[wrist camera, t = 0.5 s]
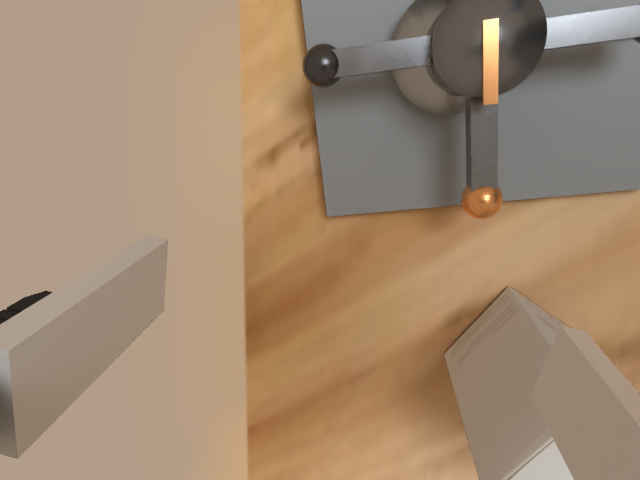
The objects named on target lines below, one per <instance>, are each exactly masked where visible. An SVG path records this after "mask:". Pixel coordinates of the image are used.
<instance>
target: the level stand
mask: <svg viewBox="0 0 640 480" xmlns="http://www.w3.org/2000/svg"><path fill="white" fill-rule="evenodd" d="M414 1H416V0H301V5H302V13H303V21H304V29H305V38H306V46H307V52H308V50H309V49H310V48H311V47H313V46H315V45H317V44H321V43H326V44H330V45H332V46H334V47H336V48H337V49H338V48H345V47H352V46H359V45H366V44H373V43H380V42H387V41H392V38H393V35H394V32H395V29H396V27H397V25H398V23H399V21H400V19H401V17H402V16H403V14H404V13H405V11H406V10H407V9H408V8H409V7H410V5H411V4H412V3H413V2H414ZM539 1H540V2H541V4H542V7H543V9H544V12H545V15H546V18H552V17H559V16H566V15H573V14H580V13H586V12H593V11H600V10H607V9H614V8H621V7H628V6H635V5H638V4H639V3H640V0H539ZM311 87H312V96H313V104H314V112H315V120H316V129H317V137H318V145H319V154H320V162H321V170H322V178H323V187H324V195H325V203H326V212H327V217H330V216H342V215H353V214H365V213H376V212H387V211H399V210H410V209H421V208H433V207H444V206H456V205H462V204H461V195H462V192H463V190H464V189H465V187H466V130H465V111H463V112H459V113H454V114H438V113H433V112H429V111H426V110H423V109H421V108H419V107H417V106H415V105H414V104H412V103H411V102H410V101H409V100H408V99H407V98H406V97H404V95H403V94H402V93H401V92H400V90H399V89H398V87H397V85H396V83H395V81H394V78H393V75H392V71H388V72H381V73H374V74H366V75H359V76H351V77H344V78H340V80H339V81H338V82H337V83H336V84H334V85H333V86H331V87H327V88H319V87H316V86H314V85H312V84H311ZM498 187H499V188H500V190H501V192H502V195H503V201H513V200H524V199H535V198H547V197H558V196H569V195H581V194H592V193H604V192H615V191H626V190H638V189H640V43H638V42H636V41H635V40H633V39H626V40H618V41H611V42H603V43H596V44H588V45H581V46H574V47H566V48H559V49H551V50H544V51H543V54H542V56H541V58H540V60H539V63H538V64H537V66H536V67H535V69H534V70H533V71H532V73H531V74H530V75H529V76H528V77H527V78H526V79H525V80H524V81H523V82H522V83H521V84H519V85H518V86H517V87H515V88H513V89H512V90H510V91H508V92H505V93H503V94H500V95H498Z"/></svg>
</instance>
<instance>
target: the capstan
mask: <svg viewBox="0 0 640 480" xmlns="http://www.w3.org/2000/svg"><path fill="white" fill-rule="evenodd" d="M626 39H633V40H635V41H636V42H638V43H640V3H639V4H638V5H635V6H628V7H621V8H614V9H607V10H600V11H593V12H586V13H580V14H573V15H566V16H559V17H552V18H546V15H545V12H544V9H543V7H542V4H541V2H540V1H539V0H416V1H414V2H413V3H412V4H411V5H410V7H409V8H408V9H407V10H406V11H405V13H404V14H403V16H402V17H401V19H400V21H399V23H398V25H397V27H396V29H395V32H394V35H393V38H392V41H387V42H380V43H373V44H366V45H359V46H352V47H345V48H338V49H337V48H336V47H334V46H332V45H330V44H326V43H321V44H317V45H315V46H313V47H311V48H310V49H309V50H308V52H307V53H306V55H305V57H304V60H303V72H304V75H305V77H306V78H307V80H308V81H309V82H310V83H311V84H312V85H314V86H316V87H319V88H327V87H331V86H333V85H334V84H336V83H337V82H338V81H339V80H340V78H344V77H351V76H359V75H366V74H374V73H381V72H388V71H392V75H393V78H394V81H395V83H396V85H397V87H398V89H399V90H400V92H401V93H402V94H403V95H404V97H406V98H407V99H408V100H409V101H410V102H411V103H412V104H414V105H415V106H417V107H419V108H421V109H423V110H426V111H429V112H433V113H438V114H454V113H459V112H463V111H465V130H466V187H465V189H464V190H463V192H462V195H461V204H462V207H463V209H464V210H465V212H466V213H467V214H469V215H470V216H472V217H474V218H479V219H483V218H488V217H491V216H493V215H494V214H495V213H497V212H498V210H499V209H500V207H501V205H502V201H503V195H502V192H501V190H500V188H499V187H498V95H500V94H503V93H505V92H508V91H510V90H512V89H513V88H515V87H517V86H518V85H519V84H521V83H522V82H523V81H524V80H525V79H526V78H527V77H528V76H529V75H530V74H531V73H532V71H533V70H534V69H535V67H536V66H537V64H538V63H539V60H540V58H541V56H542V54H543V51H544V50H551V49H559V48H566V47H574V46H581V45H588V44H596V43H603V42H611V41H618V40H626Z"/></svg>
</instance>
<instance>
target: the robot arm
mask: <svg viewBox="0 0 640 480" xmlns="http://www.w3.org/2000/svg"><path fill="white" fill-rule="evenodd" d="M167 245H168V240H166V239H162V238H157V237H153V236H148V235H146V236H144V237H142V238H141V239H139V240H137V241H136V242H134V243H133V244H131V245H129V246H128V247H126V248H124V249H123V250H121V251H119V252H118V253H116V254H115V255H113V256H111V257H110V258H108V259H106V260H105V261H103V262H101V263H100V264H98V265H97V266H95V267H93V268H92V269H90V270H89V271H87V272H85V273H84V274H82V275H80V276H79V277H77V278H75V279H74V280H72V281H70V282H69V283H67V284H66V285H64V286H62V287H61V288H59V289H57V290H56V291H54V292H48V291H44V292H41V293H38V294H34V295H31V296H28V297H25V298H23V299H21V300H19V301H18V302H16V303H14V304H12V305H11V306H9V307H7V309H6V310H2V311H0V454H2V455H6V456H9V457H13V458H19V457H20V456H21V455H22V454H23V453H24V452H25V451H26V450H27V449H28V448H29V447H30V446H31V445H32V444H33V443H34V442H35V441H36V439H37V438H39V436H41V435H42V433H43V432H44V431H45V430H46V429H47V428H48V427H49V426H50V425H51V424H52V423H53V422H54V421H55V420H56V419H57V418H58V417H59V416H60V415H61V414H62V413H63V412H64V411H65V410H66V409H67V408H68V407H69V406H70V405H71V404H72V403H73V402H74V401H75V400H76V399H77V398H78V397H79V396H80V395H81V394H82V393H83V392H84V391H85V390H86V389H87V388H88V387H89V386H90V385H91V383H93V382H94V381H95V380H96V379H97V378H98V377H99V376H100V375H101V373H103V372H104V371H105V369H107V368H108V366H110V364H112V363H113V361H114V360H115V359H116V358H117V357H118V356H119V355H120V354H121V353H122V352H123V351H124V350H125V349H126V348H127V347H128V346H129V345H130V344H131V343H132V342H133V341H134V340H135V339H136V338H137V337H138V336H139V335H140V334H141V333H142V332H143V331H144V330H145V329H146V328H147V327H148V326H149V325H150V324H151V323H152V322H153V321H154V320H155V319H156V318H157V317H158V316H159V315H160V314H161V313H162V312H163V311H164V295H165V279H166V278H165V277H166V262H167ZM531 396H532V398H533V400H534V402H535V404H536V406H537V408H538V410H539V412H540V414H541V416H542V418H543V420H544V422H545V424H546V426H547V428H548V430H549V432H550V433H551V435H552V437H553V439H554V441H555V443H556V445H557V447H558V449H559V451H560V453H561V455H562V457H563V459H564V461H565V463H566V465H567V467H568V469H569V471H570V473H571V475H572V477H573V479H574V480H640V394H639V392H638V391H637V390H636V389H635V388H634V387H633V386H632V384H631V383H630V382H629V381H628V380H627V379H626V377H625V376H624V375H623V374H622V373H621V372H620V371H619V369H618V368H617V367H616V366H615V365H614V364H613V363H612V361H611V360H610V359H609V358H608V357H607V356H606V355H605V353H604V352H603V351H602V350H601V349H600V348H599V346H598V345H597V344H596V343H595V342H594V341H593V340H592V338H591V337H590V336H589V335H588V334H587V333H586V332H585V331H583V330H578V329H574V328H569V327H565V326H560V328H559V330H558V333H557V335H556V337H555V340H554V342H553V344H552V347H551V349H550V351H549V354H548V356H547V358H546V361H545V363H544V365H543V368H542V370H541V372H540V375H539V377H538V379H537V382H536V384H535V386H534V389H533V391H532V393H531Z"/></svg>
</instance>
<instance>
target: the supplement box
mask: <svg viewBox="0 0 640 480" xmlns="http://www.w3.org/2000/svg"><path fill="white" fill-rule="evenodd" d="M560 326H565V327H567V326H566V325H564V324H563V323H562V322H560V321H559V320H557V319H556V318H554V317H553V316H552V315H550V314H549V313H547V312H546V311H544V310H543V309H541V308H540V307H539V306H537V305H536V304H534V303H533V302H531V301H530V300H528V299H527V298H526V297H524V296H523V295H521V294H520V293H518V292H517V291H515V290H514V289H512V288H511V287H507V288H506V290H505V291H504V292H503V293H502V294H501V295H500V296H499V297H498V298H497V299H496V300H495V301H494V302H493V303H492V304H491V305H490V306H489V307H488V308H487V309H486V310H485V312H484V313H483V314H482V315H481V316H480V317H479V318H478V319H477V320H476V321H475V322H474V323H473V324H472V325H471V326H470V327H469V328H468V329H467V330H466V331H465V332H464V334H463V335H462V336H461V337H460V338H459V339H458V340H457V341H456V342H455V343H454V344H453V345H452V346H451V347H450V348H449V349H448V350H447V352H446V353H445V354H444V357H445V360H446V364H447V367H448V371H449V375H450V378H451V382H452V385H453V389H454V392H455V396H456V399H457V403H458V407H459V410H460V414H461V417H462V421H463V424H464V428H465V431H466V435H467V439H468V442H469V446H470V449H471V453H472V456H473V460H474V464H475V467H476V471H477V474H478V478H479V480H574V479H573V477H572V475H571V473H570V471H569V469H568V467H567V465H566V463H565V461H564V459H563V457H562V455H561V453H560V451H559V449H558V447H557V445H556V443H555V441H554V439H553V437H552V435H551V433H550V432H549V430H548V428H547V426H546V424H545V422H544V420H543V418H542V416H541V414H540V412H539V410H538V408H537V406H536V404H535V402H534V400H533V398H532V396H531V393H532V391H533V389H534V386H535V384H536V382H537V379H538V377H539V375H540V372H541V370H542V368H543V365H544V363H545V361H546V358H547V356H548V354H549V351H550V349H551V347H552V344H553V342H554V340H555V337H556V335H557V333H558V330H559V328H560Z"/></svg>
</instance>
